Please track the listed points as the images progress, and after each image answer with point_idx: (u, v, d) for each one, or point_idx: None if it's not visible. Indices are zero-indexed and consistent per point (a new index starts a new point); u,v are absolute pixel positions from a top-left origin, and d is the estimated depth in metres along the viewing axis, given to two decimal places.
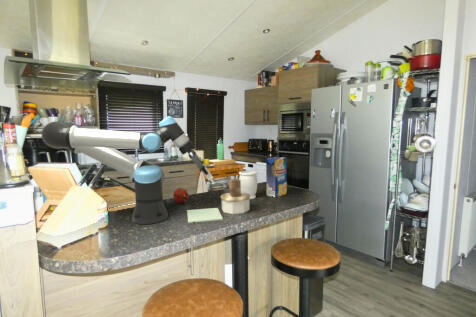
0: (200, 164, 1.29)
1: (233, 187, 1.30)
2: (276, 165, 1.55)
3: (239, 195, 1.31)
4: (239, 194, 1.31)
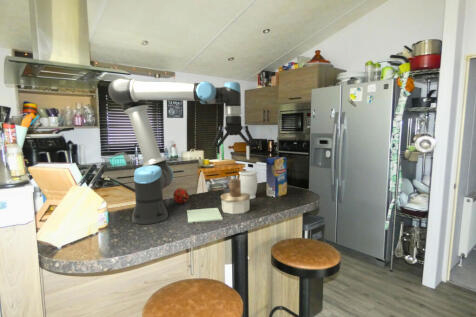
0: (214, 141, 1.28)
1: (233, 187, 1.30)
2: (276, 165, 1.55)
3: (239, 195, 1.31)
4: (239, 194, 1.31)
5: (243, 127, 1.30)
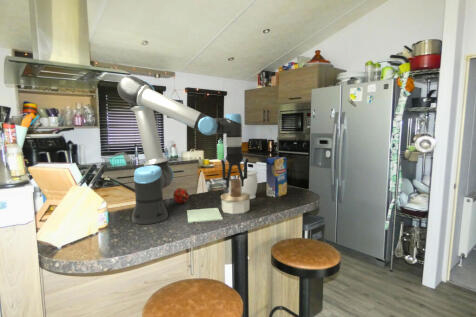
0: (222, 175, 1.30)
1: (233, 187, 1.30)
2: (276, 165, 1.55)
3: (239, 195, 1.31)
4: (239, 194, 1.31)
5: (243, 159, 1.31)
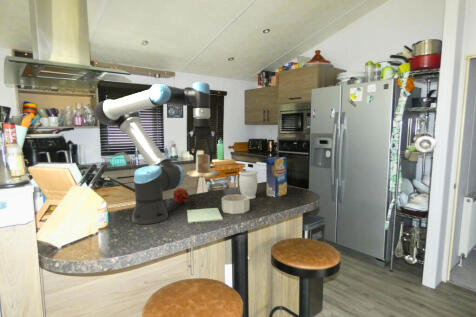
0: (189, 150, 1.21)
1: (200, 163, 1.21)
2: (276, 165, 1.55)
3: (207, 171, 1.22)
4: (207, 170, 1.22)
5: (212, 132, 1.22)
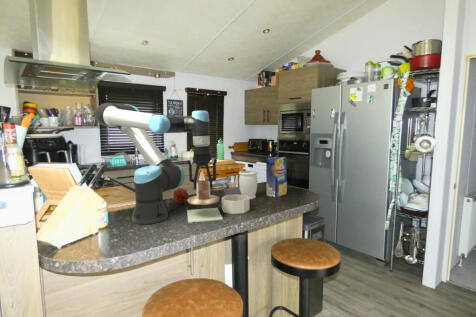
0: (189, 177, 1.22)
1: (200, 190, 1.22)
2: (276, 165, 1.55)
3: (207, 198, 1.23)
4: (207, 197, 1.23)
5: (212, 159, 1.23)
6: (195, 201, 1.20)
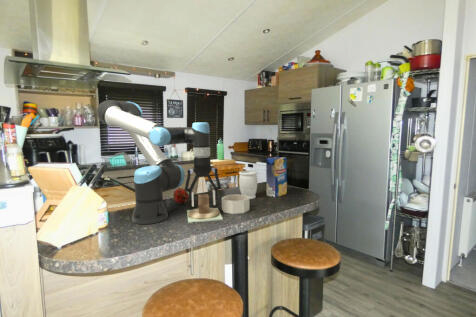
0: (185, 186, 1.22)
1: (201, 204, 1.22)
2: (276, 165, 1.55)
3: (207, 212, 1.23)
4: (207, 211, 1.23)
5: (212, 169, 1.24)
6: (195, 215, 1.20)
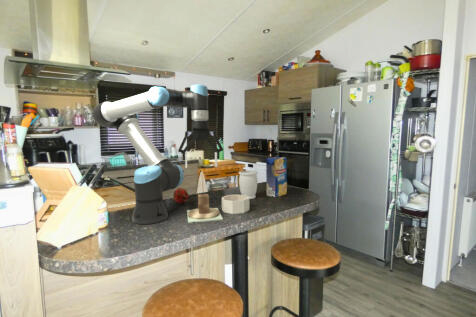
0: None
1: (201, 204, 1.22)
2: (276, 165, 1.55)
3: (207, 212, 1.23)
4: (207, 211, 1.23)
5: (211, 132, 1.23)
6: (195, 215, 1.20)
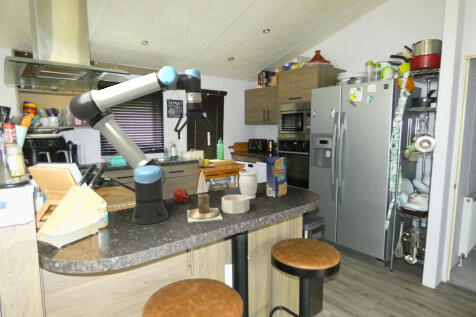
0: (175, 127, 1.32)
1: (201, 204, 1.22)
2: (276, 165, 1.55)
3: (207, 212, 1.23)
4: (207, 211, 1.23)
5: (204, 114, 1.34)
6: (195, 215, 1.20)
